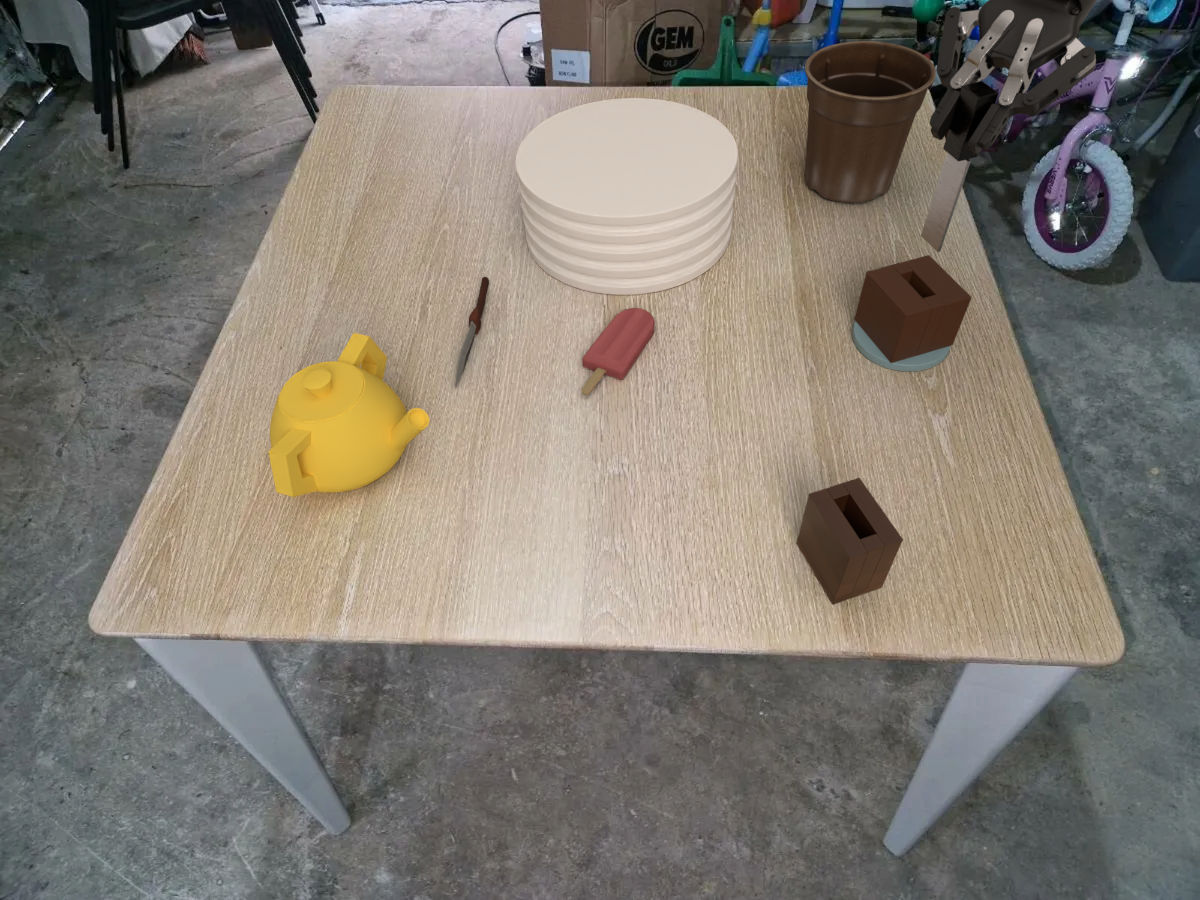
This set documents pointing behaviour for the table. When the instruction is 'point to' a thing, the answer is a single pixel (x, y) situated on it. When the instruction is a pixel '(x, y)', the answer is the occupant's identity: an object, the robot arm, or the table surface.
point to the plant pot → (861, 115)
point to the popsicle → (618, 346)
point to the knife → (472, 329)
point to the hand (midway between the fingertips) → (954, 142)
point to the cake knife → (956, 159)
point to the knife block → (847, 540)
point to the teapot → (339, 424)
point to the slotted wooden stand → (909, 315)
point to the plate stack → (627, 194)
